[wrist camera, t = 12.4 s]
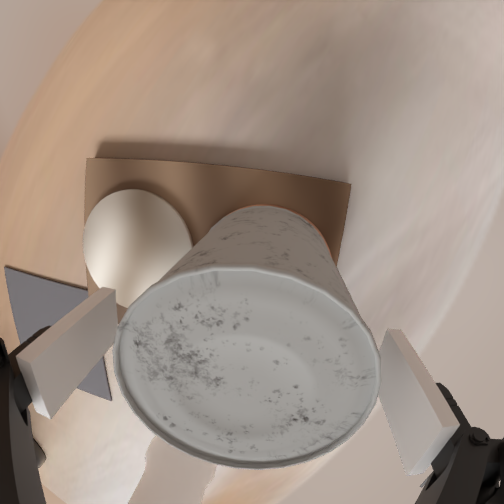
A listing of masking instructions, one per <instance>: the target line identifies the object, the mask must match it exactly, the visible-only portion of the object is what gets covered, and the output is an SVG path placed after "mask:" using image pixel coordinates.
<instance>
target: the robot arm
mask: <svg viewBox="0 0 504 504" xmlns="http://www.w3.org/2000/svg"><path fill="white" fill-rule="evenodd" d="M117 327H118V319H117V306H116V289H111V288H107V287H101V288H100V289H99V290H97V291H96V292H95V293H93V294H92V295H91V296H90V297H88V298H87V299H86V300H84V301H83V302H82V303H80V304H79V305H78V306H77V307H75V308H74V309H73V310H71V311H70V312H69V313H68V314H66V315H65V316H64V317H63V318H61V319H60V320H59V321H58V322H56V323H55V324H54V325H53V326H50V325H49V326H47V327H44V328H42V329H39V330H38V331H37V332H36V333H34V334H33V335H32V337H29V338H28V339H27V340H26V341H24V342H23V343H22V344H21V345H20V346H18V347H17V348H16V349H15V350H13V351H12V352H11V353H10V354H9V355H8V353H7V350H6V347H5V344H4V340H3V339H2V338H0V504H46V501H45V497H44V493H43V489H42V485H41V481H40V476H39V471H38V468H40V467H41V466H42V464H43V463H44V462H45V460H46V458H45V455H44V453H43V451H42V450H41V448H40V447H39V446H38V444H37V443H36V442H35V441H34V440H33V436H32V428H31V419H30V412H29V409H28V406H29V404H30V403H31V402H33V405H34V407H35V410H36V412H37V413H39V414H41V415H43V416H45V417H47V418H49V419H52V417H53V416H54V415H55V414H56V412H57V411H58V410H59V409H60V407H61V406H62V405H63V404H64V402H65V401H66V400H67V399H68V397H69V396H70V395H71V394H72V393H73V391H74V390H75V389H76V388H77V386H78V385H79V384H80V383H81V382H82V380H83V379H84V378H85V377H86V376H87V374H88V373H89V372H90V371H91V370H92V368H93V367H94V366H95V365H96V364H97V362H98V361H99V360H100V359H101V358H102V356H103V355H104V354H105V353H106V352H107V351H108V349H109V348H110V347H111V346H112V345H113V344H114V341H115V336H116V331H117ZM379 354H380V357H381V378H382V382H381V386H380V390H379V393H378V395H379V398H380V401H381V403H382V406H383V409H384V411H385V414H386V417H387V419H388V423H389V425H390V428H391V431H392V434H393V437H394V440H395V443H396V446H397V449H398V451H399V455H400V458H401V461H402V464H403V466H404V470H405V473H406V476H410V475H416V474H422V473H424V471H425V470H426V469H427V468H428V467H429V466H430V464H431V465H432V467H433V470H434V471H433V472H432V473H431V474H430V475H429V477H428V478H427V479H426V480H425V481H424V482H423V483H422V484H421V486H420V487H423V486H424V485H425V486H424V488H423V490H422V491H421V493H420V495H419V497H418V499H417V501H416V503H415V504H504V438H503V439H502V440H501V439H490V437H489V435H488V434H487V433H486V432H485V431H484V430H482V429H480V428H477V427H471V426H470V424H469V423H468V421H467V419H466V418H465V416H464V415H463V413H462V411H461V409H460V408H459V406H457V403H456V401H455V400H454V399H453V396H452V395H451V393H450V392H449V390H448V389H447V388H446V387H445V386H443V385H442V384H441V383H435V382H434V380H433V378H432V377H431V375H430V374H429V372H428V370H427V369H426V367H425V366H424V364H423V363H422V361H421V359H420V358H419V356H418V355H417V353H416V352H415V350H414V349H413V347H412V346H411V344H410V343H409V341H408V340H407V338H406V337H405V335H404V334H403V332H402V331H401V330H398V329H387V331H386V334H385V337H384V340H383V343H382V345H381V348H380V351H379ZM500 480H501V482H500V487H499V481H500Z"/></svg>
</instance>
